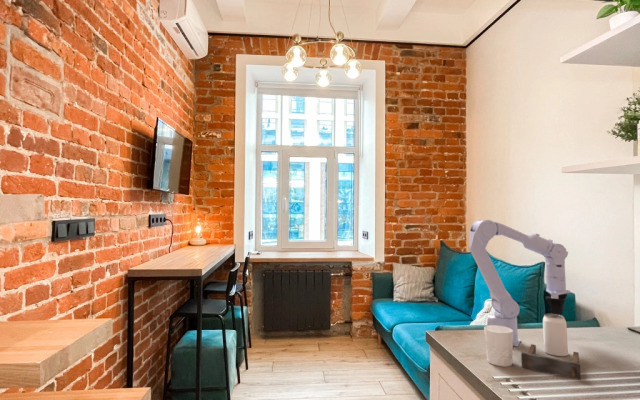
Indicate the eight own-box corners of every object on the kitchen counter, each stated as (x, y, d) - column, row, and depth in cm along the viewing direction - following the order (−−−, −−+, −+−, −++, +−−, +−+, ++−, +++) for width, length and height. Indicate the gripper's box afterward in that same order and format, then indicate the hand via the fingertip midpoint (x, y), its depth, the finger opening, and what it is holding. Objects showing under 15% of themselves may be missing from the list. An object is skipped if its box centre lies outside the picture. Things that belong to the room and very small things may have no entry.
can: (572, 357, 112) (570, 318, 113) (549, 356, 113) (547, 317, 114) (562, 350, 118) (560, 313, 119) (540, 349, 119) (539, 312, 120)
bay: (521, 367, 105) (521, 353, 105) (528, 353, 116) (528, 340, 116) (580, 379, 96) (579, 364, 96) (582, 363, 107) (581, 349, 108)
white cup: (513, 369, 103) (511, 334, 104) (483, 364, 107) (482, 330, 108) (515, 360, 110) (513, 327, 110) (487, 355, 114) (485, 323, 115)
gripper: (568, 280, 118) (570, 322, 118) (570, 275, 130) (572, 313, 129) (543, 278, 123) (545, 319, 122) (547, 274, 134) (549, 310, 133)
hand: (557, 316), depth 126 cm, fingers open, 7 cm apart
